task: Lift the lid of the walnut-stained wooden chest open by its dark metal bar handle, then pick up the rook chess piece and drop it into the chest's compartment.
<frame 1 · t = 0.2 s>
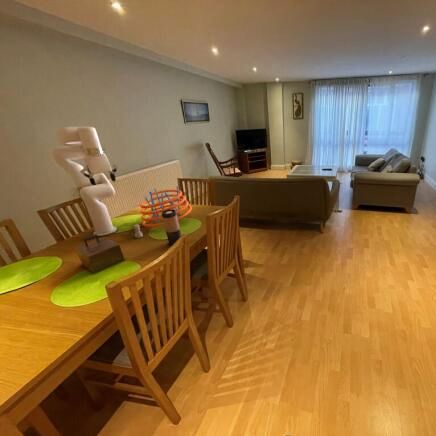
hand: (104, 183, 134), 37 cm above the table, tool pointing down, fingers open, 9 cm apart
toy basket: (168, 220, 178), on the table
travel mug: (175, 242, 145), on the table
lid: (96, 243, 121), point 12 cm above the table, hinge at 0.0°
chest: (103, 262, 125), on the table
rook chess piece: (139, 236, 153), on the table
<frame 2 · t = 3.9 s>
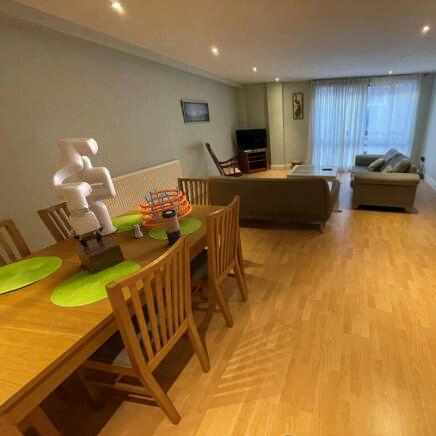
hand: (92, 242, 124), 10 cm above the table, tool pointing down, fingers closed on lid, 6 cm apart
lid: (96, 243, 121), point 12 cm above the table, hinge at 0.0°, touching gripper
everything else where it was.
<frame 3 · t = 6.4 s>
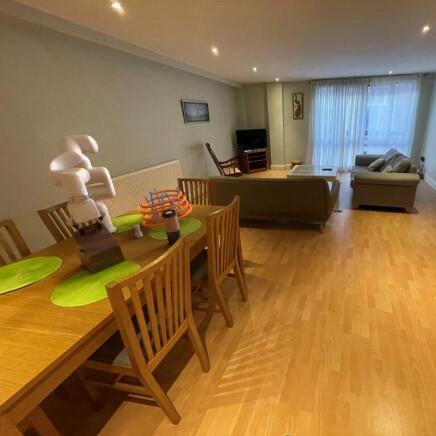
hand: (92, 232, 119), 18 cm above the table, tool pointing down, fingers closed on lid, 6 cm apart
lid: (96, 236, 118), point 16 cm above the table, hinge at 38.9°, touching gripper
everything else where it was.
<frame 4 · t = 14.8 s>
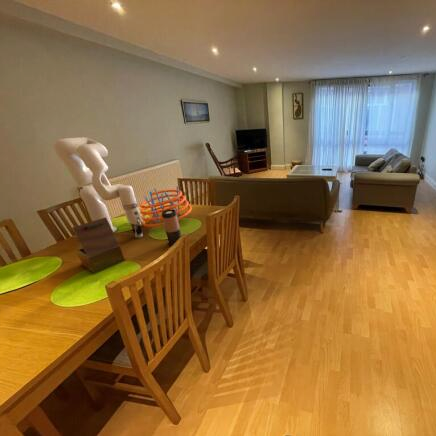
hand: (138, 232, 152), 3 cm above the table, tool pointing down, fingers closed on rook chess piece, 3 cm apart
lid: (98, 236, 115), point 17 cm above the table, hinge at 69.5°
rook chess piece: (139, 236, 153), on the table, touching gripper
everything else where it was.
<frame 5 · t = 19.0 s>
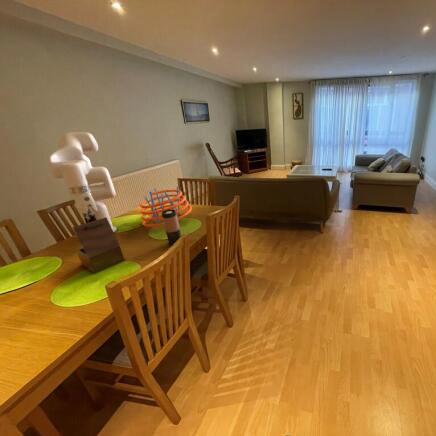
hand: (92, 224, 120), 21 cm above the table, tool pointing down, fingers closed on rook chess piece, 3 cm apart
lid: (98, 236, 115), point 17 cm above the table, hinge at 71.3°, touching gripper
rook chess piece: (94, 229, 121), point 18 cm above the table, touching gripper
everything else where it was.
when the fingers open (8 cm above the table, at t = 22.5 s): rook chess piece drops 4 cm, resting on chest.
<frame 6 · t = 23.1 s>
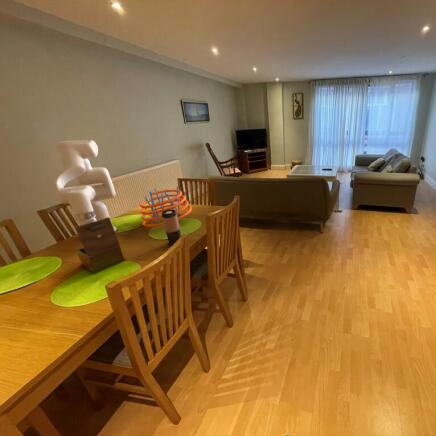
hand: (96, 245, 123), 10 cm above the table, tool pointing down, fingers open, 9 cm apart
lid: (100, 237, 114), point 17 cm above the table, hinge at 85.2°
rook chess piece: (102, 260, 126), point 1 cm above the table, touching chest
everything else where it was.
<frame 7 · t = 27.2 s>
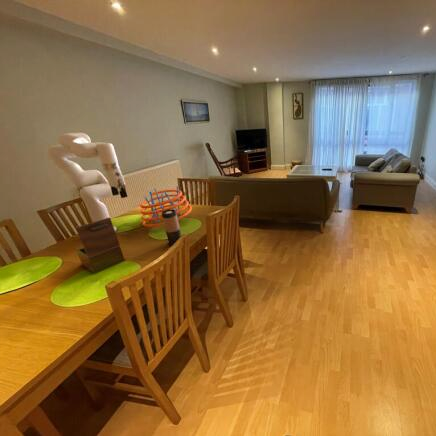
hand: (120, 196, 139), 28 cm above the table, tool pointing down, fingers open, 9 cm apart
lid: (101, 237, 114), point 17 cm above the table, hinge at 88.0°
everything else where it was.
at the end: lid at +88° (first picture: +0°); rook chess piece inside the target area in the chest (1.2 cm from its centre), point 0.6 cm above the chest's base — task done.
